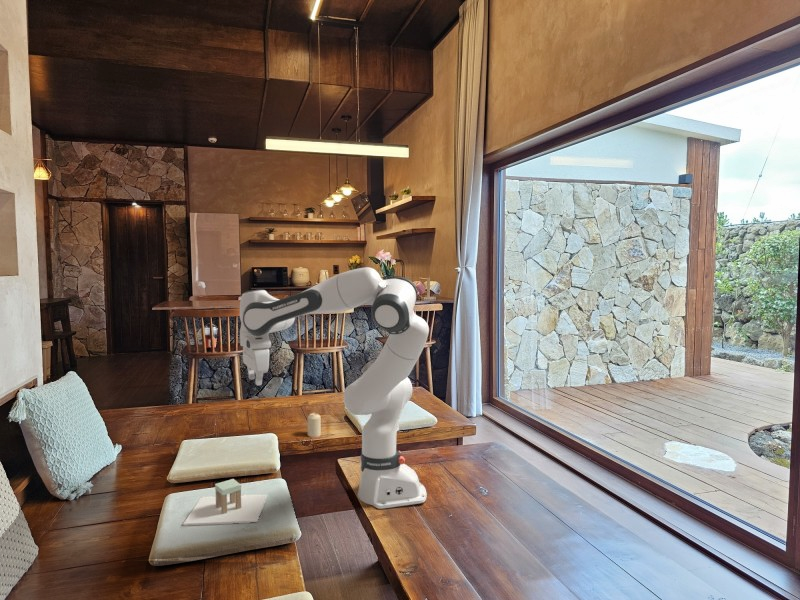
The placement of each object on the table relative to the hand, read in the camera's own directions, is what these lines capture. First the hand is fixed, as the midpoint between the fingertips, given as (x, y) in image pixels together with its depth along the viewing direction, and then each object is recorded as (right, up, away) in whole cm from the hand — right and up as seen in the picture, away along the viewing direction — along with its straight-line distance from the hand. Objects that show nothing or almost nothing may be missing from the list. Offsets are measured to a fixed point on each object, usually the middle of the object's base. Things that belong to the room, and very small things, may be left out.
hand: (255, 381), depth 158 cm
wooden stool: (-3, -35, -15) cm, 38 cm away
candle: (+11, -31, +47) cm, 58 cm away
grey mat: (-3, -35, -15) cm, 38 cm away
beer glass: (+43, -41, +60) cm, 84 cm away
